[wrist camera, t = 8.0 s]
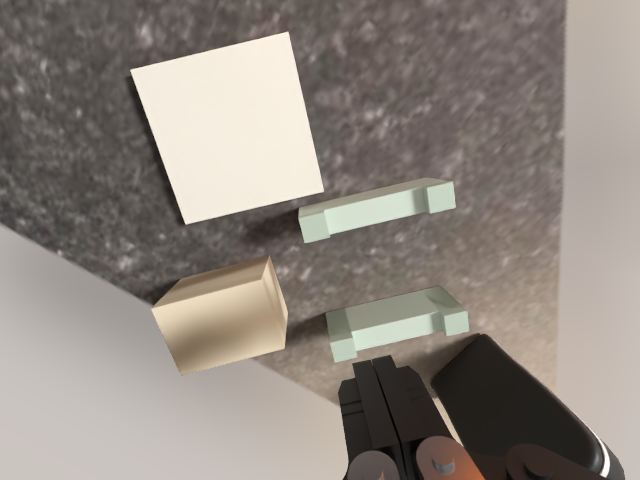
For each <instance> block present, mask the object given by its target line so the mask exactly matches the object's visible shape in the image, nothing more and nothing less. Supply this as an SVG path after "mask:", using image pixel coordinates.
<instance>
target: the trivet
mask: <svg viewBox="0 0 640 480" xmlns="http://www.w3.org/2000/svg"><path fill="white" fill-rule="evenodd" d="M130 71H131V73H132V76H133V79H134V82H135V85H136V87H137V90H138V93H139V96H140V99H141V101H142V104H143V107H144V110H145V113H146V115H147V118H148V121H149V124H150V127H151V129H152V132H153V135H154V138H155V141H156V143H157V146H158V149H159V152H160V155H161V157H162V160H163V163H164V166H165V169H166V171H167V174H168V177H169V180H170V183H171V185H172V188H173V191H174V194H175V197H176V199H177V202H178V205H179V208H180V211H181V213H182V216H183V219H184V222H185V224H190V223H194V222H198V221H202V220H206V219H211V218H215V217H219V216H223V215H228V214H232V213H236V212H240V211H244V210H249V209H253V208H257V207H261V206H265V205H270V204H274V203H278V202H282V201H286V200H291V199H295V198H299V197H303V196H307V195H312V194H316V193H320V192H324V189H323V184H322V180H321V176H320V171H319V167H318V162H317V158H316V153H315V149H314V144H313V140H312V136H311V131H310V127H309V122H308V118H307V113H306V109H305V104H304V100H303V96H302V91H301V87H300V82H299V78H298V73H297V69H296V64H295V60H294V55H293V51H292V47H291V42H290V38H289V33H288V32H285V33H281V34H277V35H273V36H269V37H265V38H261V39H256V40H252V41H248V42H244V43H240V44H236V45H232V46H227V47H223V48H219V49H215V50H211V51H207V52H203V53H199V54H194V55H190V56H186V57H182V58H178V59H174V60H170V61H165V62H161V63H157V64H153V65H149V66H145V67H141V68H136V69H132V70H130Z"/></svg>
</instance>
